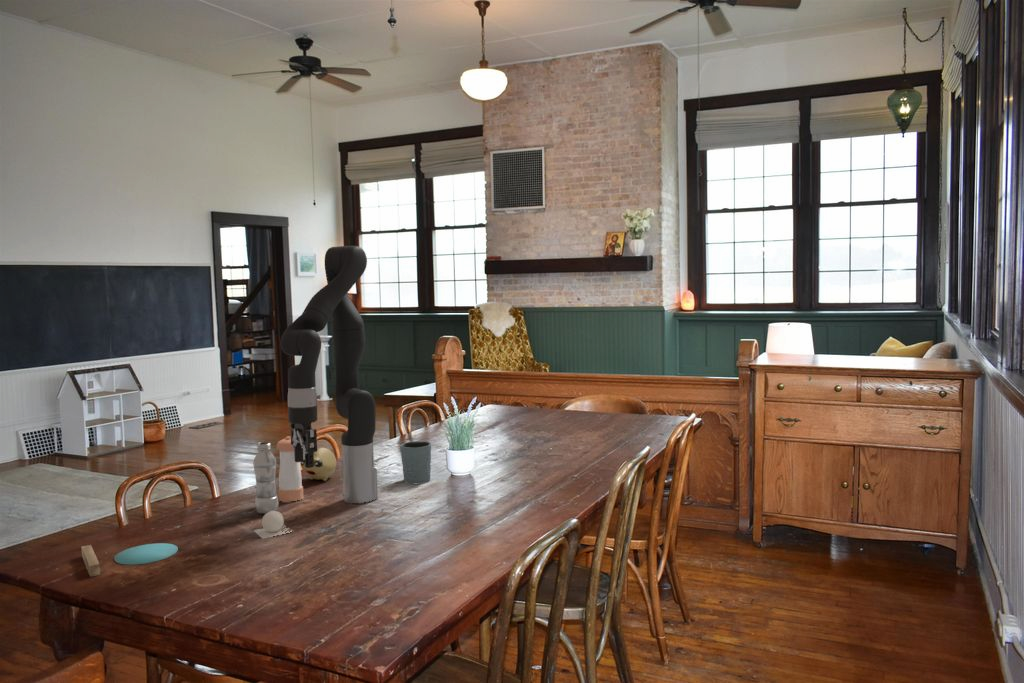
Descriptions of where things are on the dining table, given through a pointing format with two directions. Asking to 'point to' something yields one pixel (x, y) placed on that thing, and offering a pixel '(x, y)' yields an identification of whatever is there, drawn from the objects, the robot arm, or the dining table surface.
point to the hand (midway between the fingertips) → (304, 464)
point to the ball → (272, 521)
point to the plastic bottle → (265, 479)
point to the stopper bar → (90, 560)
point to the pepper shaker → (289, 473)
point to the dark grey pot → (416, 461)
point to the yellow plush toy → (321, 464)
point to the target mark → (146, 553)
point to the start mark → (266, 534)
